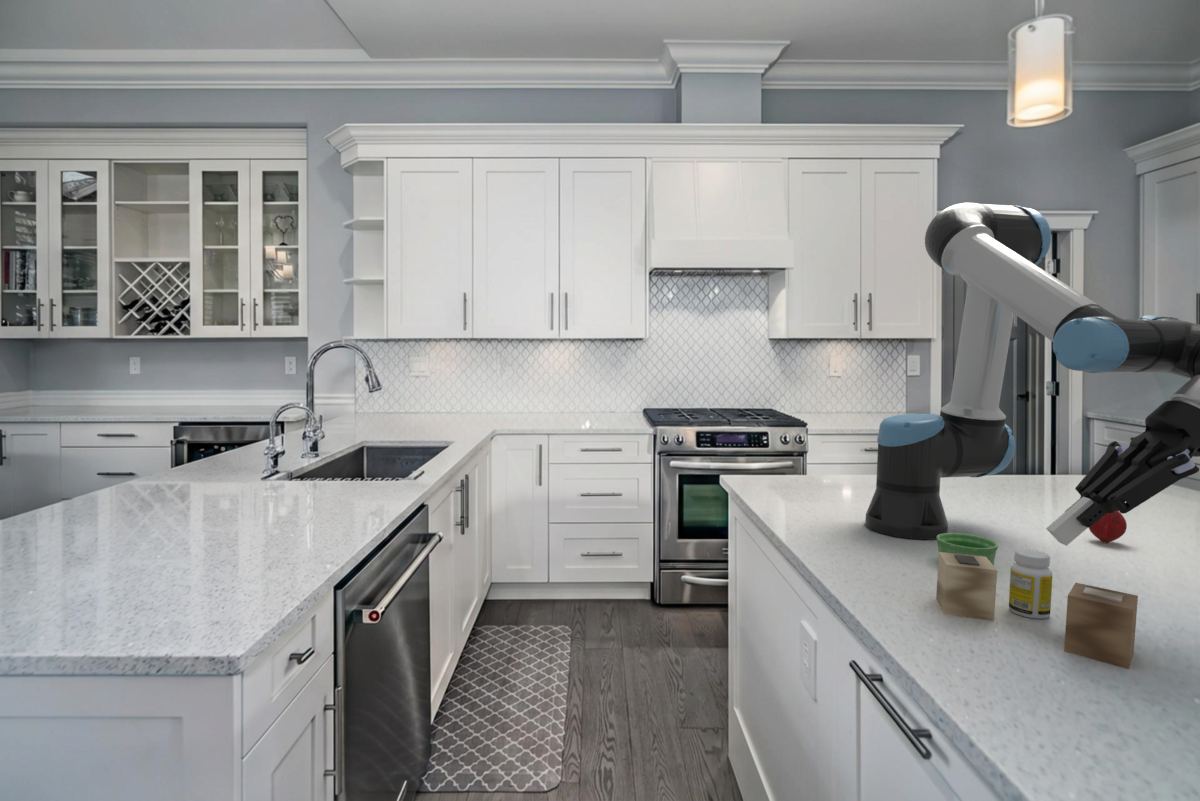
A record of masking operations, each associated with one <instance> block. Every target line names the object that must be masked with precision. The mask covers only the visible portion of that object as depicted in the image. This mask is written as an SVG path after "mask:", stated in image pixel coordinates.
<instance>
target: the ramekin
mask: <svg viewBox="0 0 1200 801" xmlns="http://www.w3.org/2000/svg"><path fill="white" fill-rule="evenodd" d="M936 541H937V553H938V554H937V556H939V552H945V553H954V554H964V555H974V556H983V557H987V558H988V560H989V561H990V562H991V563H992V565H993V566H994V565H995V559H996V554H997V550H998V548H999V545H998V543H997V542H996V541H994V540H992V539H989V538H986V537H983V536H980V535H979V536H978V535H976V534H968V533H961V532H948V533H942V534H939V535H937V539H936ZM994 567H995V566H994Z"/></svg>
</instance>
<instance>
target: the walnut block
mask: <svg viewBox="0 0 1200 801" xmlns="http://www.w3.org/2000/svg"><path fill="white" fill-rule="evenodd" d="M1138 601H1139V595H1137V594H1132V593H1127V592H1121V591H1118V590H1112V589H1108V588H1103V587H1099V586H1098V587H1097V586H1094V585H1090V584H1084V583H1081V582H1075V583H1074V585H1073V586H1072V588H1071V589H1070V591H1069V592H1068V595H1067V603H1066V615H1065V616H1066V617H1065V631H1064V647H1063V652H1065V653H1068V654H1072V655H1075V656H1079V657H1083V658H1087V659H1090V660H1093V661H1098V662H1100V663H1101V662H1102V663H1104V664H1109V665H1111V666H1116V667H1119V668H1122V669H1127V670H1130V667H1131V663H1132V659H1133V655H1134V650H1135V641H1136V640H1135V637H1136V624H1137V613H1138V603H1139V602H1138Z"/></svg>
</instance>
